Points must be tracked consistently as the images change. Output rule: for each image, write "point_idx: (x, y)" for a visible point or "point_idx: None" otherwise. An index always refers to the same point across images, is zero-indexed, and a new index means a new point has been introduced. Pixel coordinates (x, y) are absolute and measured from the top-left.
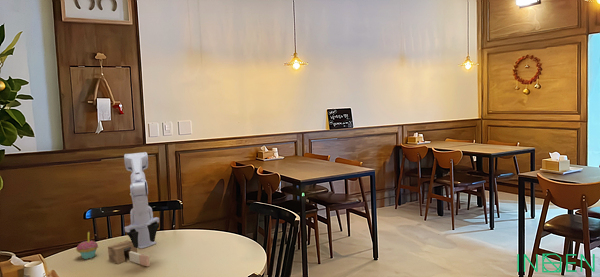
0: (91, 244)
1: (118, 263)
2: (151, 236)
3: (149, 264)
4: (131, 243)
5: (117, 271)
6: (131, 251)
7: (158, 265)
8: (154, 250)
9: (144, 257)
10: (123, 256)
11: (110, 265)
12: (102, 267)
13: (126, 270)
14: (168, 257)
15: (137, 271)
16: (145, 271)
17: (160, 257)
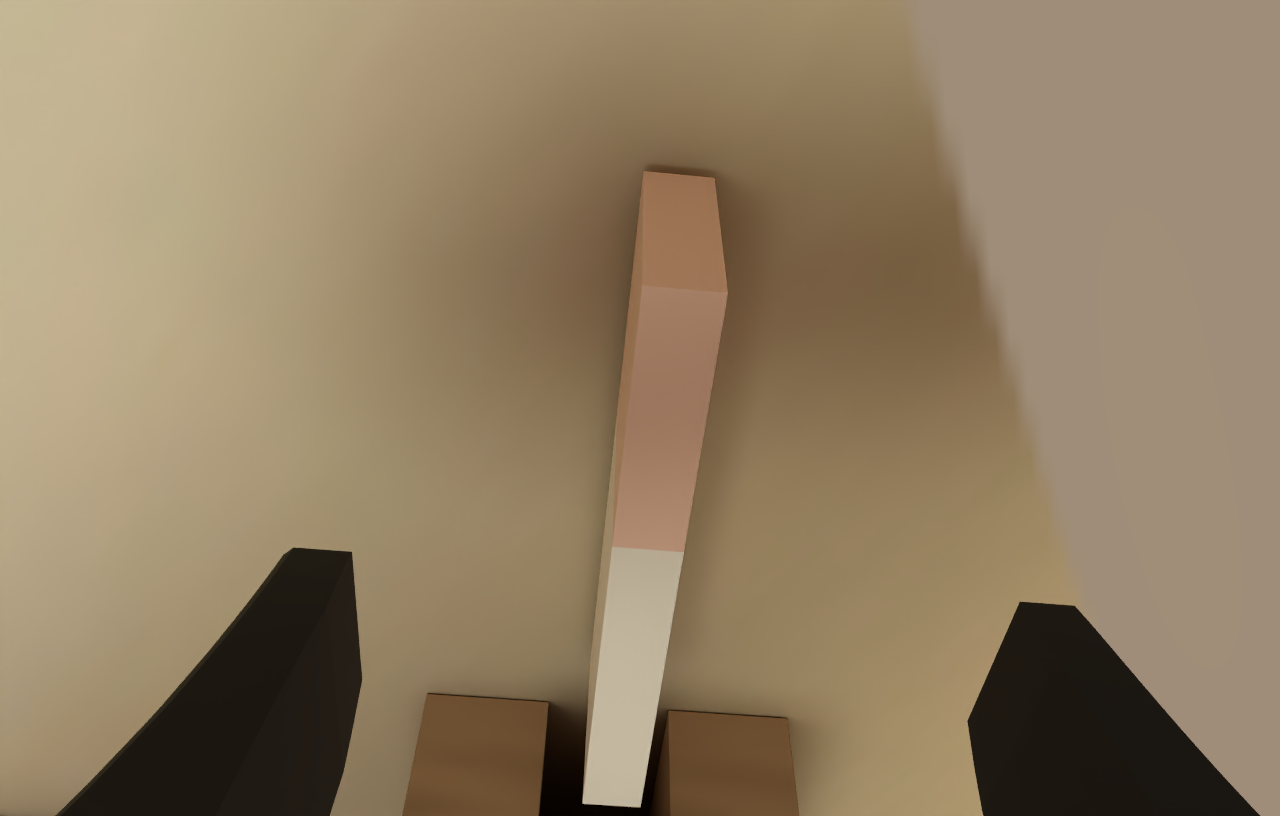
0: None
1: (786, 723)
2: (296, 794)
3: (650, 182)
4: None
5: (1057, 527)
6: (597, 792)
7: (496, 14)
8: (77, 664)
9: (713, 361)
10: (688, 793)
11: (876, 760)
12: (974, 791)
13: (977, 430)
14: (49, 183)
15: (961, 199)
16: (908, 20)
17: (180, 343)
